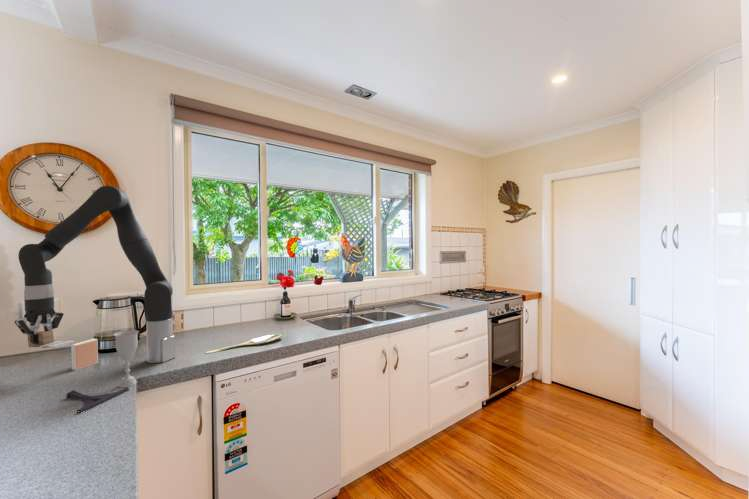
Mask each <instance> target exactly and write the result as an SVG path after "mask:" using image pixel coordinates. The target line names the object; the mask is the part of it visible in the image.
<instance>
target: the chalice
mask: <svg viewBox="0 0 749 499" xmlns="http://www.w3.org/2000/svg"><path fill="white" fill-rule="evenodd" d="M139 333H140V331H139V330H137V329H134V330H124V331H119V332H116V333H114V334H113V336H114V337H115V349H116V352H117V354H118V355H119V357H120V358H121V360H123V361H125V364H124V365H123V366H124V367H125V369H124V372H125V376H124V377H123V378H122V379H120V382H119V384H118V388H126V387H128V388H129V387H131V386H134V385H136V384H137V383H138V382H137V380H136V378H135V376H134V375H130V371H131V369H130V366H131V364H130V360H131V359H132V358H133V356H134V354H135V353H136V351H137V348H138V346H139V345H138V341H139V340H138V334H139Z"/></svg>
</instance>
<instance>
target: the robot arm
mask: <svg viewBox="0 0 749 499" xmlns="http://www.w3.org/2000/svg"><path fill="white" fill-rule="evenodd" d="M128 196H129V195H128V194H127V193H126V192H125V191H124V190H122V189H121V188H118V187H117V186H113V185H103V186H100V187H98V188H97V189H96V190H95V191H94V192H93V193H92V194H91V195H90V196H88V199H86V200H85V201H84V202H83V204H81V205H80V206H79V207H78V208H77V209H76V210H75V211H73V212H72V213H71V214H70V215H68V216H66V218H65V219H63V220H62V221H61V222H59V223H58V224H57V225H54V226H53V227H52V228H51V229H50V230H48V231H47V232H46V233H45V235H44V239H43V240H41V241H40V242H39V243H28V244H25V245H23V246H22V247H21V248H20V249H19V251H18V261H19V264H20V268H21V270H22V272H23V274H24V290H23V297H24V298H23V299H24V300H23V301H24V302H23V303H24V312H25V314H24V315H23V317H22V318H20V319H16V320H15V321H14V324H15V325H16V326H17V328H18V329H19V330H20V332H21V333H22V335H27V334H29V335H30V342H31V343H32V344H38V334H37V333H38V332H39V329H40V327H41V326H42V328H43V331H53V330H55V329H58V328H59V325H60V324H61V321H62V319H63V316H64V313H63V312H57V311H56V310H55V309H54V308H55V298H54V297H55V296H54V294H55V290H54V285H53V274H52V273H53V272H52V271H51V270H50V269H48V268H47V267H46V262H49V261H51V260H52V259H54V258H55V257H57V255H59V254H60V253H61V251H62V250H63V249H64V248H65V246H67V245H68V244H69V243H71V242H72V241H74V240H75V239H77V238H78V237H79V236H80V235H81V234H82V233H84V231H86V229H87V228H88V227H89V226H90V225H91V223H92V222H93V221H94V220H95V219H96V218H98V217H99V216H101V215H103V214H104V213H106V212H109V214H110V217H111V218H112V220H113V221H114V223H115V225H116V231H117V237H118V238H117V239H118V241H119V244H120V246H121V248H122V251H123V252H124V254H125V257H126V258H127V260H128V261H129V262H130V263H131V265H132V266H133V267H134V268H135V269H136V271H137V272H138V274H139V275H140V276H141V278H142V281H143V283H144V285H145V290H144V295H143V296H144V298H143V299H144V314H145V323H146V324H145V325H146V330H145V332H146V361H147V363H149V364H158V363H165V362H167V361H170V360H172V359H175V358H176V336H175V335H174V328H173V327H174V326H173V325H174V323H173V320H174V319H173V315H174V314H173V309H172V307H173V306H172V295H173V291H174V290H173V287H172V285H171V284H170V282H169V280H168V279H167V277H166V276H165V274H164V272H163V271H162V269H161V267H160V266H159V262H158V260H157V257H156V254H155V252H154V250H153V247H152V245H151V243H150V241H149V239H148V237H147V235H146V233H145V231H144V230H143V228H142V226H141V224H140V222H139V221H138V220H137V218H136V215H135V212H134V210H133V208H132V205H131V201H130V198H129V197H128ZM27 323H28V325H27Z"/></svg>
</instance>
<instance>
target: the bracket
mask: <svg viewBox="0 0 749 499" xmlns="http://www.w3.org/2000/svg"><path fill="white" fill-rule="evenodd" d="M129 391H130V387H129V386H128V387H123V388H122V389H121V388H120V389H119V390H118V391H114V392H110V393H105V394H100V395H98V394H97V395H87V394H83V393H80V392H78V391H76V390H75V389H73V390H71V391H68V392H67V393H66V396H65V397H66V399H68V400H70V399H71V400H78V399H81V401H82V402H84V404H83V405H82V407H80V408H78V409H77V410H76V413H77V412H78V411H80V412H79V413H81V412H83V411H85V412H87V411H89V410H91V409H93V408H95V407H97V406H99V404H100V405H102V404H103V403H106V402H107V401H109V400H112V399H114V398H116V397H119V396H120V395H122V394H124V393H126V392H129ZM88 409H89V410H88ZM86 410H87V411H86ZM83 413H84V412H83Z"/></svg>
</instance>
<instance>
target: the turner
mask: <svg viewBox="0 0 749 499" xmlns="http://www.w3.org/2000/svg"><path fill="white" fill-rule="evenodd" d="M37 334H38V344H32V343H31V342H30V335H29V334H26V336H27V344H28V348H39V349H47V348H48V349H50V348H51V349H52V348H58V347H63V346H66V345H69V344H70V345H71V344H73V343H75V342H76V341H75V339H74V340H59V341H55V340H54V339H55V338H54V331H53V330H52V331H44V330H43V331H38V333H37Z"/></svg>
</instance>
